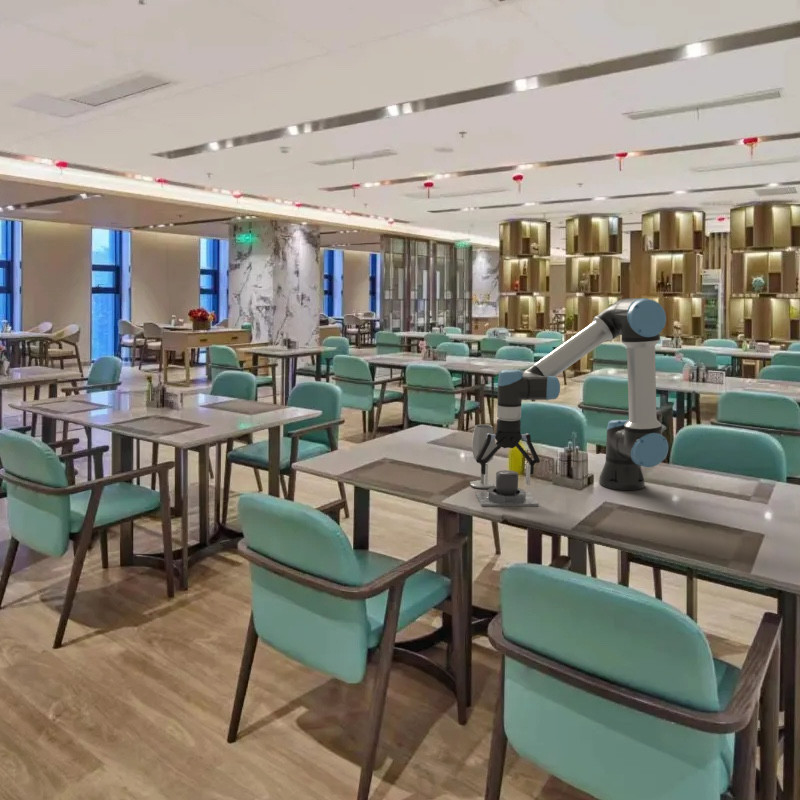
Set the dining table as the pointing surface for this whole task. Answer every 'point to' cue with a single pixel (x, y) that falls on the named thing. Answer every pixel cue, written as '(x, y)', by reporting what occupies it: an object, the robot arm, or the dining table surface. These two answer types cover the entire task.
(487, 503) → the gray tray with ring
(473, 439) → the wineglass
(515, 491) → the dark grey cylinder
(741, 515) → the dining table surface
